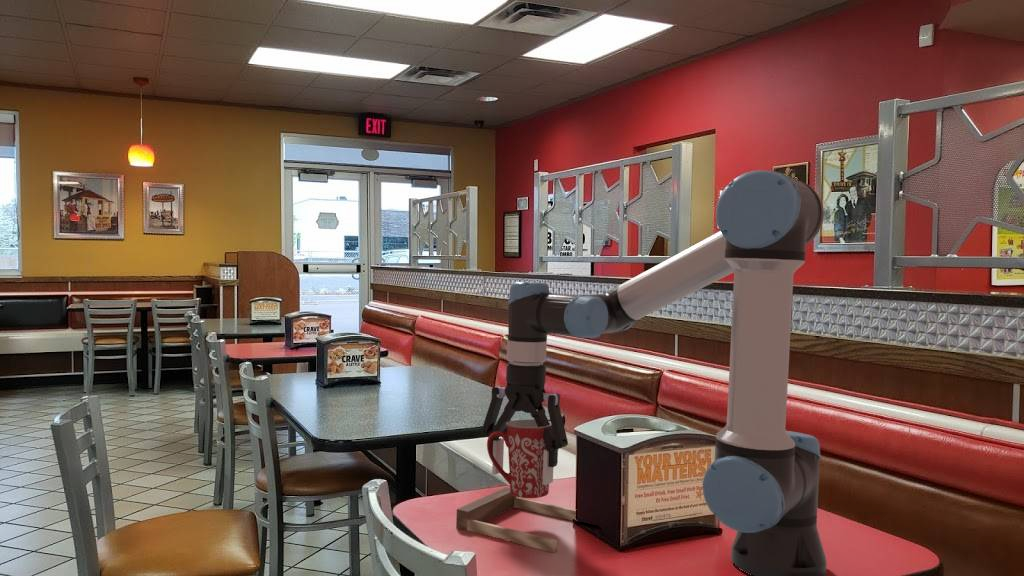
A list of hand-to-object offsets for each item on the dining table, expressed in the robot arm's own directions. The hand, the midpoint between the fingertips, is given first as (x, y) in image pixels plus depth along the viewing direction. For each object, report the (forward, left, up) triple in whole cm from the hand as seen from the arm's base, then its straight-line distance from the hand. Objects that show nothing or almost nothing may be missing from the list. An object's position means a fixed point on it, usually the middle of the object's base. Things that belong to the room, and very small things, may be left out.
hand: (522, 477), depth 142 cm
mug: (0, 0, -3) cm, 3 cm away
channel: (-2, 0, -9) cm, 9 cm away
